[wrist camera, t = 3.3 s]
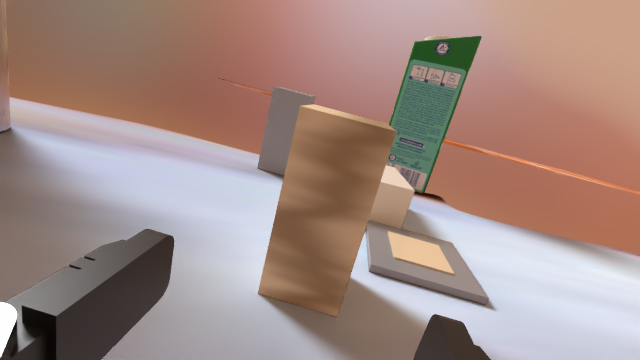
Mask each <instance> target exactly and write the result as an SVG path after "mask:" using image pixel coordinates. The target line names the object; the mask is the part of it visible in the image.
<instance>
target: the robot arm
mask: <svg viewBox="0 0 640 360" xmlns="http://www.w3.org/2000/svg"><path fill="white" fill-rule="evenodd" d="M9 128H10V103H9V74H8V51H7V27H6V3H5V0H0V132H1V131H5V130H7V129H9ZM173 249H174V238H173V237H172V236H171V235H167V234H164V233H160V232H157V231H154V230H150V229H145V230H143V231H141V232H140V233H138V234H137V235H135V236H133V237H132V238H130V239H128V240H127V241H126V240H120V241H117V242H113V243H110V244H107V245H104V246H101V247H99V248H98V249H96V250H94V251H92V252H91V253H89V254H87V255H85V257H84V258H80V259H78V260H77V261H75V262H73V263H72V264H70V266H69V267H65V268H63V269H61V270H59V271H58V272H56V273H54V274H52V275H51V276H49V277H47V278H46V279H44V280H42V281H40V282H39V283H37V284H35V285H33V286H32V287H30V288H28V289H26V290H25V291H23V292H21V293H19V294H18V295H16V296H14V297H13V298H11V299H9V300H7V301H6V302H4V303H2V302H0V360H101V359H102V358H103V357H104V356H105V355H106V354H107V353H108V352H109V351H110V350H111V349H112V348H113V347H114V346H115V345H116V344H117V343H118V342H119V341H120V340H121V339H122V337H123V336H124V335H125V334H126V333H127V332H128V331H129V330H130V329H131V328H132V327H133V326H134V325H135V324H136V323H137V322H138V321H139V320H140V319H141V318H142V317H143V316H144V315H145V314H146V313H147V312H148V311H149V310H150V309H151V308H152V307H153V306H154V305H155V304H156V303H157V302H158V301H159V300H160V299H161V297H162V296H163V294H164V293H165V291H166V289H167V286H168V284H169V280H170V273H171V265H172V257H173ZM414 360H491V359H490V358H489V357H488V356H487V355H486V353H485V352H484V351H483V350H482V349H481V348H480V346H476V345H474V343H473V341H472V339H471V337H470V335H469V333H468V331H467V329H466V327H465V325H464V323H463V322H461V321H457V320H454V319H450V318H447V317H444V316H440V315H437V314H434V315H433V316H432V317H431V319H430V321H429V323H428V325H427V328H426V330H425V332H424V335H423V337H422V339H421V341H420V344H419V346H418V348H417V351H416V353H415V356H414Z"/></svg>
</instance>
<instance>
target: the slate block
mask: <svg viewBox="0 0 640 360" xmlns="http://www.w3.org/2000/svg"><path fill="white" fill-rule="evenodd" d="M314 100H315V96H312V95H308V94H304V93H300V92H296V91H293V90H289V89H285V88H280V87H275V86H274V87H273V92H272V98H271V102H270V108H269V112H268V118H267V123H266V128H265V133H264V139H263V143H262V148H261V153H260V158H259V163H258V169H262V170H265V171H269V172H273V173H276V174H280V175H283V176H284V175H285V170H286V166H287V162H288V157H289V153H290V148H291V144H292V139H293V135H294V130H295V126H296V121H297V117H298V113H299V108H300V106H303V105H312V104H314Z"/></svg>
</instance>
